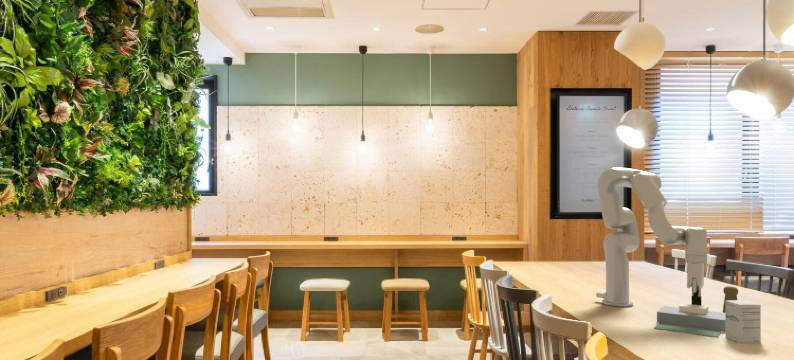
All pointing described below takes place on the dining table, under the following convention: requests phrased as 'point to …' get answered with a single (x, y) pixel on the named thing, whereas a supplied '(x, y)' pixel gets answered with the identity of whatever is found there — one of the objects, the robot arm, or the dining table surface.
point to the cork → (729, 294)
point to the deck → (692, 318)
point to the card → (693, 308)
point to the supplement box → (743, 321)
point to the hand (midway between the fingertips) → (696, 306)
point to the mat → (688, 329)
